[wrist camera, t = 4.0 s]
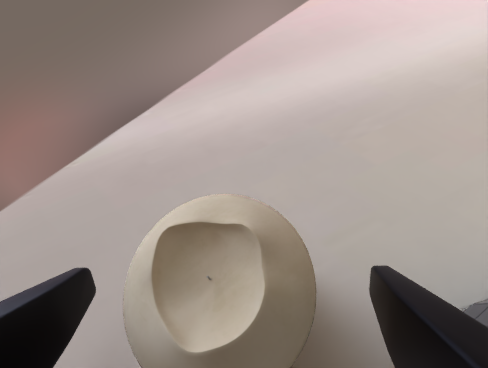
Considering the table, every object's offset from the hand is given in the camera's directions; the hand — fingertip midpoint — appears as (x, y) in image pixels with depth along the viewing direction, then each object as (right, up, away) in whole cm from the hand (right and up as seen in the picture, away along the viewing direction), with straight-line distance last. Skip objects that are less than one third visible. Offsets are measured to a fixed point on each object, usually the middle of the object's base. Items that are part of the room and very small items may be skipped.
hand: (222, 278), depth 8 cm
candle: (+1, -4, +7) cm, 8 cm away
